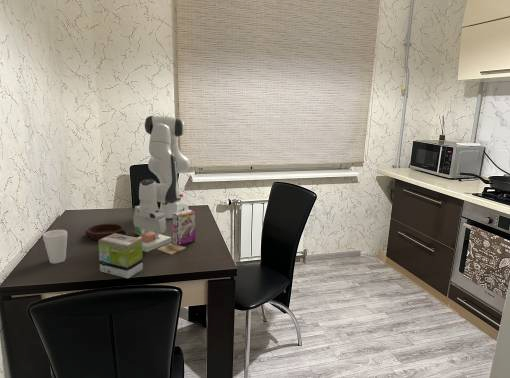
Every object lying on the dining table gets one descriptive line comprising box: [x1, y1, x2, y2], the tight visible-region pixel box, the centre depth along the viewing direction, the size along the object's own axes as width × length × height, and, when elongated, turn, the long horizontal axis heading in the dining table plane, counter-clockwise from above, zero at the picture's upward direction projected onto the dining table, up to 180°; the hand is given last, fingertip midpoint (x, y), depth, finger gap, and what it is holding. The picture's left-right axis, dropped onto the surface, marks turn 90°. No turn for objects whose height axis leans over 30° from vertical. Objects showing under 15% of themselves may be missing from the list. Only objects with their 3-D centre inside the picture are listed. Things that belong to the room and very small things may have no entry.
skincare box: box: [134, 205, 151, 237], centre depth 199 cm, size 8×7×16 cm
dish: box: [84, 223, 127, 241], centre depth 194 cm, size 18×22×5 cm
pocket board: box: [137, 233, 173, 253], centre depth 186 cm, size 17×14×2 cm
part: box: [141, 231, 156, 243], centre depth 185 cm, size 7×4×6 cm, turn 149°
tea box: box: [97, 233, 144, 279], centre depth 153 cm, size 15×10×15 cm
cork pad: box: [156, 242, 187, 255], centre depth 180 cm, size 10×10×1 cm
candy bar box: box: [172, 209, 197, 246], centre depth 188 cm, size 11×5×16 cm, turn 135°
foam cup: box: [42, 229, 68, 264], centre depth 161 cm, size 10×9×13 cm
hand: (149, 237), depth 185 cm, fingers open, 8 cm apart
